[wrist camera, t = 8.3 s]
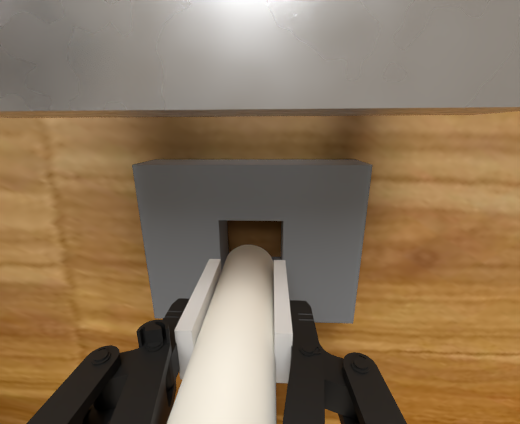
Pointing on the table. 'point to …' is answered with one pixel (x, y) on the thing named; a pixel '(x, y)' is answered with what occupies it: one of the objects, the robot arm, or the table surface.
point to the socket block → (256, 209)
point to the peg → (234, 348)
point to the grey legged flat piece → (258, 58)
